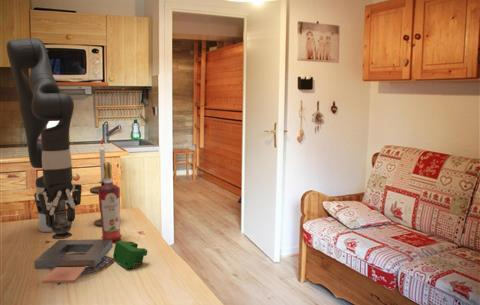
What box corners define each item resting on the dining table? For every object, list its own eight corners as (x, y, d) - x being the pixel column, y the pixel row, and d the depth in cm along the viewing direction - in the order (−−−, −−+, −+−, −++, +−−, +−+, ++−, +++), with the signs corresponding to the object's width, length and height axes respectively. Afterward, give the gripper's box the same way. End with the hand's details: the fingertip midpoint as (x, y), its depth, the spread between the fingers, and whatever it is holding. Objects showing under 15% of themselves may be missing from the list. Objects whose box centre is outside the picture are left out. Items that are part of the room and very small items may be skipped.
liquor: (120, 235, 156) (116, 160, 152) (124, 241, 149) (120, 163, 145) (99, 238, 153) (95, 162, 149) (102, 245, 146) (97, 165, 142)
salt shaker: (77, 235, 121) (74, 194, 119) (56, 241, 117) (53, 198, 115) (67, 231, 125) (64, 191, 123) (47, 236, 121) (44, 195, 119)
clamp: (140, 278, 130) (151, 255, 128) (122, 279, 126) (132, 255, 124) (128, 253, 139) (138, 230, 136) (111, 253, 135) (120, 229, 132)
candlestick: (122, 219, 177) (118, 135, 172) (116, 227, 166) (112, 138, 161) (96, 219, 176) (91, 135, 171) (88, 228, 165) (82, 138, 160)
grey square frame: (59, 246, 145) (59, 239, 145) (112, 246, 145) (112, 239, 145) (34, 268, 127) (34, 260, 127) (95, 267, 127) (94, 260, 127)
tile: (55, 269, 127) (55, 267, 127) (86, 268, 127) (86, 266, 127) (42, 282, 118) (42, 280, 118) (74, 282, 118) (74, 280, 118)
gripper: (69, 161, 126) (73, 215, 128) (24, 168, 114) (29, 229, 116) (87, 162, 122) (90, 219, 125) (42, 171, 110) (47, 233, 112)
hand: (61, 224), depth 120 cm, fingers closed on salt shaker, 6 cm apart
